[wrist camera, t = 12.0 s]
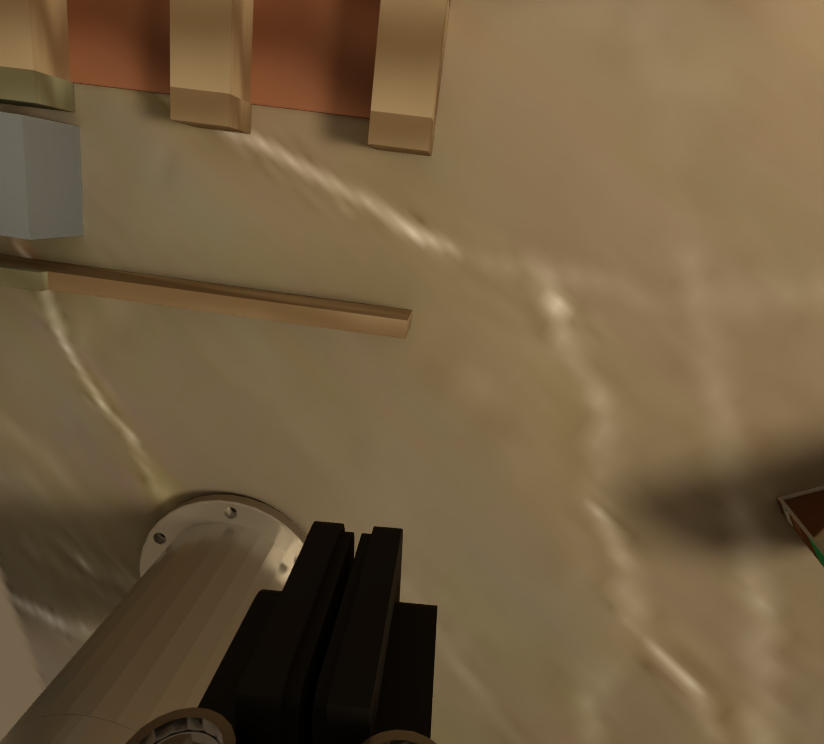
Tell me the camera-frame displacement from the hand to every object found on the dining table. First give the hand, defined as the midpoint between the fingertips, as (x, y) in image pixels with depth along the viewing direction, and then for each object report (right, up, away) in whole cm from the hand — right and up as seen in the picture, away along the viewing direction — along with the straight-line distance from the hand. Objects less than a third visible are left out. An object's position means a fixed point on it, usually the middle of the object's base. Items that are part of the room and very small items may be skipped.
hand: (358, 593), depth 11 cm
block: (-21, +15, +22) cm, 34 cm away
